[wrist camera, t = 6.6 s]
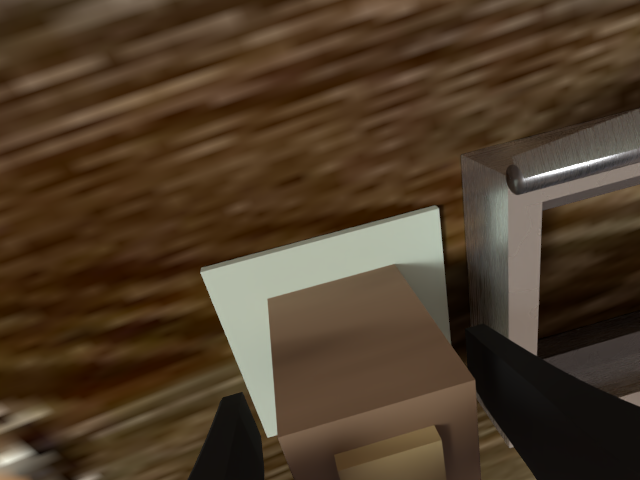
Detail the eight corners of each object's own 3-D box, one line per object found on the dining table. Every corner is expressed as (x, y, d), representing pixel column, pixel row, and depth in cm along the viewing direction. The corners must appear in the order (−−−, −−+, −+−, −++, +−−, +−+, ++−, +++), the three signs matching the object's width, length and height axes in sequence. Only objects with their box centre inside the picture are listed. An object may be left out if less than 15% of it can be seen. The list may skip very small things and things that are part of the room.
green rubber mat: (451, 377, 17) (454, 382, 17) (267, 431, 17) (267, 437, 16) (435, 205, 13) (439, 208, 13) (201, 267, 13) (200, 272, 13)
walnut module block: (409, 360, 16) (490, 515, 10) (298, 392, 16) (323, 566, 10) (394, 263, 14) (484, 393, 8) (267, 298, 14) (279, 454, 8)
